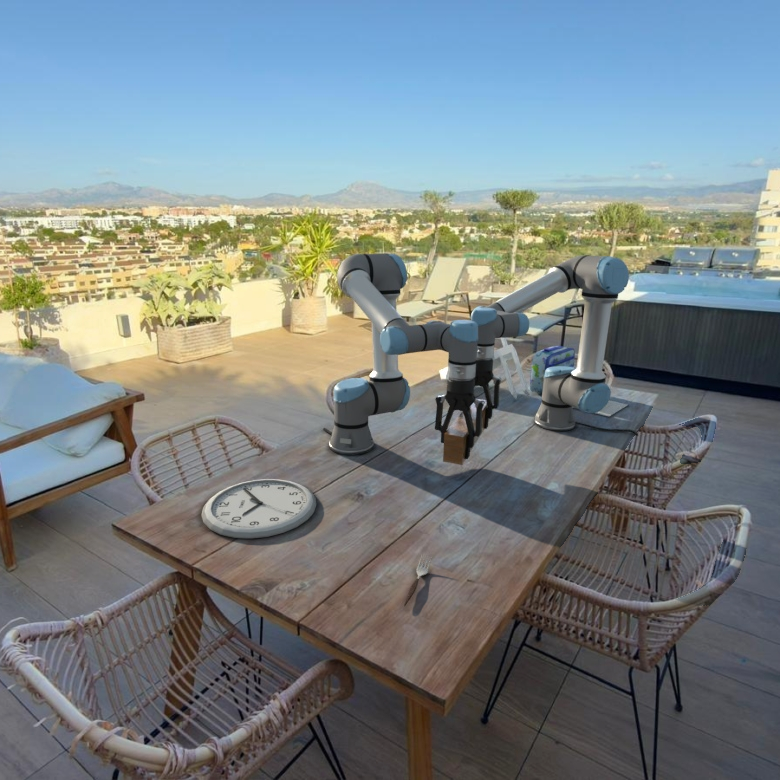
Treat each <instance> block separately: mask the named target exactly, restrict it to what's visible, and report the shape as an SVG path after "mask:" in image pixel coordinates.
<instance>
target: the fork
mask: <svg viewBox="0 0 780 780" xmlns="http://www.w3.org/2000/svg"><path fill="white" fill-rule="evenodd" d="M423 555H424V554H421V557H420V560H419V563H418V565H417V567H416V574H417V577H416V578H415V580H414V581H413V582H412V584H411V586H410V587H409V590H408V593H407V596H406V599H405V601H404V604H403V606H404V607H406V605H407V604H408V603H409V601H410V599H411V598H412V596H413V595H414V594H415V593H416V590H417V588H418V583H419V580H420V578H421V577H423V576H426V575H427V574H428V573H429V570H430V566H431V563H432V561H431V560H432V558H430V560H429V557H427V558H426V556H424V558H423ZM422 559H423V561H422ZM425 560H426V561H425ZM428 560H429V562H428Z"/></svg>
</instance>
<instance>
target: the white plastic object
mask: <svg viewBox="0 0 780 780" xmlns="http://www.w3.org/2000/svg"><path fill="white" fill-rule="evenodd" d="M500 342H501V345H502V347H500V348H498V349H496V350H495V349H494V357H493V358H492V359H493V371H495V370H496V369H497V368H499V367H500V366H502V370H503V373H504V376H505V380H506V383H507V386H508V390H509V393H510V394H511V395H512V397H513V398H514V399H515V400H517V392H516V391H517V390H516V388H515V385H514V381H513V378H512V375H511V371H510V369H509V365H508V361H510V360H513V363H514V366H515V369H516V372H517V376H518V380H519V382H520V385H521V389H522V391H523V393H524V395H525V396H526V397H528V396H531V395H530V389H529V388H528V387H529V386H528V384H527V381H526V378H525V375H524V371H523V369H522V368H523V367H522V366H521V362H520V359H519V355H518V352H517V349H516V347H515V346H514V345H513V343H511V344H508V341H507V337H506V338H500ZM438 372H439V376H440V381H442V383H443V384H444V385H445V386H447V378H448V377H449V376H448V366H446V367H444V368H442V369H440V370H439V371H438Z"/></svg>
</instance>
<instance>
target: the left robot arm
mask: <svg viewBox="0 0 780 780" xmlns="http://www.w3.org/2000/svg"><path fill="white" fill-rule="evenodd" d="M336 274H337V275H336V278H337V283H338V287H339V288H340V290H341V291H342V293H343V294H344V295H345V296H346V297H348V298H350V299H352V300H353V302H355V304H356V305H357V306H358V307H359V309H360V310H361V311H362V312H363V313H364V315H365V316H366V317H367V318H368V320H369V321H370V322H371V340H372V341H371V342H372V365H373V366H372V367H373V368H372V369H373V370H372V372H370V373H369V381H368V380H367V379H366V378H364V377H356V378H355V377H351V378H346V379H343V380H340V381H339V382H338V383H336V385H334V387H333V397H332V399H333V421H334V422H333V424H334V425H333V429H332V431H330V430H329V429H328V428H326V427H323V428H322V430H323V431H324V432H325V433H327V434H329V435H331V437H330V438H329V442H328V447H329V449H330V451H332V452H333V453H335V454H339V455H342V456H343V455H344V456H356V455H362V454H367V453H369V452H370V451H372V450H373V448H374V438H373V436H372V431H371V429H370V427H369V417H372V416H376V415H377V416H378V415H382V414H389V413H395V412H398V411H403V410H404V409H405V408H406V406H407V405H408V404H409V402H410V399H411V398H410V397H411V388H410V385H409V381H408V380H407V379H406V377H404V374H403V372H401V371H400V369H399V356H401V355H407V354H414V353H421V352H422V353H423V352H432V351H443V352H445V353H448V360H447V367H448V376H449V377H448V378H447V385H446V392H445V394H443V395H441V394H438V395H437V396H436V397H435V399H434V400H435V403H436V411H435V420H434V421H435V422H434V430H435V431H439V432H440V443H441V444H444V434H445V432H446V431H447V430H448V429H449V427H450V426H449V425H450V423H451V420H452V418H453V415H454V413H455V411H459V412H462V411H463V414H464V416H465V421H466V425H467V429H468V436H467V437H466V449H465V459H466V460H468V459H469V457H470V456H471V452H470V448H472V447H473V446H474V447H475V445H474V438H475V437H476V436H477V437H479V436H480V434H481V433H482V434H483V432H482V408H483V406H484V404H485V402H484V401H483V400H484V399H481V400H482V401H479V400H477V399H478V398H476V396H475V388H476V386H475V379H474V377H475V373H476V357H477V344H478V324H477V323H476V322H474V321H471V320H467V319H456V320H455V319H454V320H452V321H451V322H450V324H449V323H447V322H445V321H441V320H429V321H428V322H426V323H423V324H412V325H411V324H408V322H406V320H405V319H404V318H403V317H402V316H401V315H400V313H398V311H397V299H398V298H399V297H400V295H401V290H402V289H403V288H404V287H406V284H407V282H408V270H407V266H406V263H405V261H404V260H403V258H401V256H400V255H398V254H396V253H386V252H384V253H383V252H381V253H354V254H351V255H349V256H347V257H346V258H345V259H343V261H342V262H340V265H339V267H338V270H337V273H336ZM445 402H447V404H448V409H447V413H446V416H445V419H444V420H443V414H444V413H443V412H444V411H443V410H444V403H445ZM473 403H474V404H475V407H476V408H477V409H476V431H475V430H474V425H473V421H472V417H471V410H470V406H471V405H472V404H473ZM442 422H443V424H442ZM482 434H481V435H482ZM480 437H481V436H480ZM480 437H479V438H480ZM474 447H473V448H474ZM473 448H472V449H473Z"/></svg>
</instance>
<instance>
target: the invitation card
mask: <svg viewBox="0 0 780 780" xmlns="http://www.w3.org/2000/svg"><path fill="white" fill-rule="evenodd" d="M628 406H629V404H627V403H623V402H618V401H614V400H610V399H609V401H608V403H607V404H606V406H605V407H603V409H602V410H600V411H599V412H596V413H595V414H596V415H600V416H604V417H608V418H609V417H611V416H613V415H614V414H616V413H617V412H619V411H621V410H623V409H624V408H626V407H628ZM575 410H578V409H577V408H575Z"/></svg>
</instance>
